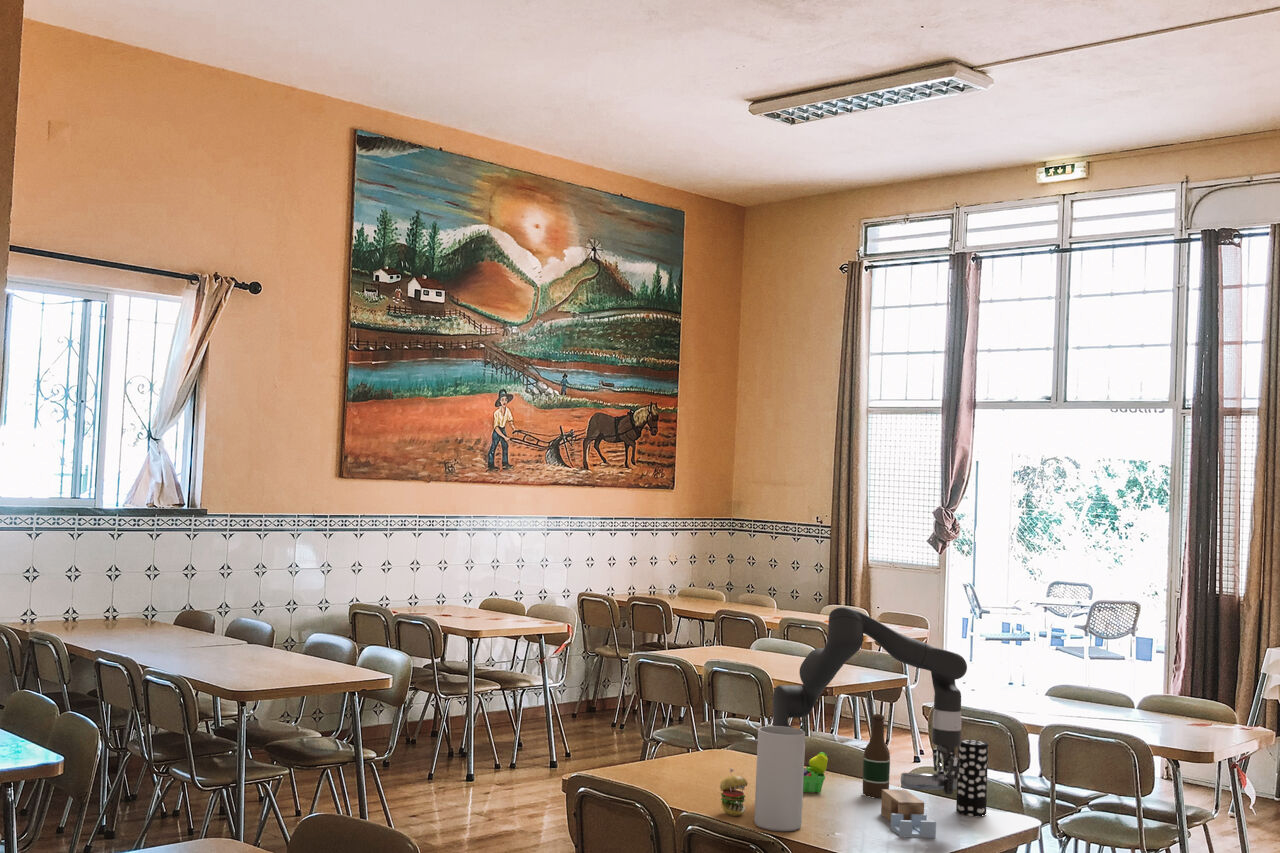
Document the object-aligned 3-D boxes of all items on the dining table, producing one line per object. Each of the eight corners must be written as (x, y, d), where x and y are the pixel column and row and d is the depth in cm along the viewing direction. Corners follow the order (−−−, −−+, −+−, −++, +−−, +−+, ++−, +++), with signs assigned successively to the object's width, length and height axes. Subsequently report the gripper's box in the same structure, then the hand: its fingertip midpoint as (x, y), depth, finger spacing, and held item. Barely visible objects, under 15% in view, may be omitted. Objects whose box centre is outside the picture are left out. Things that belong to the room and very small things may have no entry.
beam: (898, 827, 312) (899, 802, 312) (881, 813, 326) (881, 789, 326) (923, 828, 312) (924, 802, 313) (904, 814, 327) (905, 789, 327)
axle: (904, 791, 306) (906, 776, 305) (899, 784, 310) (901, 770, 309) (955, 792, 308) (957, 778, 307) (949, 786, 312) (951, 772, 311)
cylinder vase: (809, 831, 303) (812, 735, 305) (765, 833, 300) (769, 735, 302) (789, 819, 315) (793, 726, 317) (747, 820, 312) (751, 726, 314)
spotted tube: (986, 811, 335) (988, 741, 337) (985, 818, 327) (987, 746, 329) (957, 807, 338) (959, 738, 339) (955, 814, 330) (957, 743, 332)
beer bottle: (888, 799, 343) (891, 718, 345) (862, 797, 345) (865, 715, 346) (888, 793, 351) (891, 713, 352) (862, 791, 352) (865, 711, 354)
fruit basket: (795, 784, 357) (797, 747, 358) (824, 786, 357) (825, 749, 358) (799, 793, 346) (801, 754, 347) (829, 795, 346) (830, 756, 346)
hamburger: (729, 818, 312) (731, 773, 313) (713, 812, 318) (715, 767, 319) (751, 816, 316) (753, 771, 317) (735, 809, 322) (737, 765, 323)
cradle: (900, 836, 303) (901, 821, 303) (890, 828, 310) (891, 813, 311) (935, 837, 304) (936, 822, 304) (924, 829, 312) (925, 814, 312)
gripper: (970, 732, 304) (969, 798, 302) (950, 722, 318) (948, 786, 316) (943, 731, 303) (941, 798, 301) (923, 721, 317) (921, 785, 315)
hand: (944, 791), depth 309 cm, fingers closed on axle, 4 cm apart
